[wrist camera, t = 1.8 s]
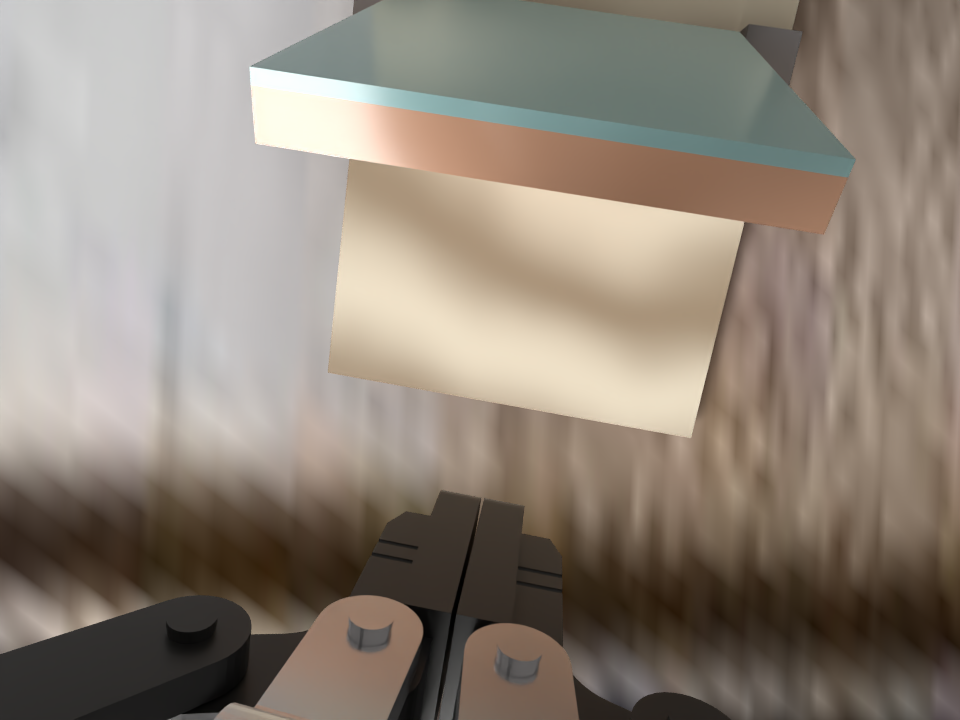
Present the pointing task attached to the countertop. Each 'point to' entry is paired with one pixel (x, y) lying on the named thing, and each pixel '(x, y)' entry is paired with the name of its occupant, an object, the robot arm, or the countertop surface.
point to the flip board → (543, 274)
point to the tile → (558, 107)
